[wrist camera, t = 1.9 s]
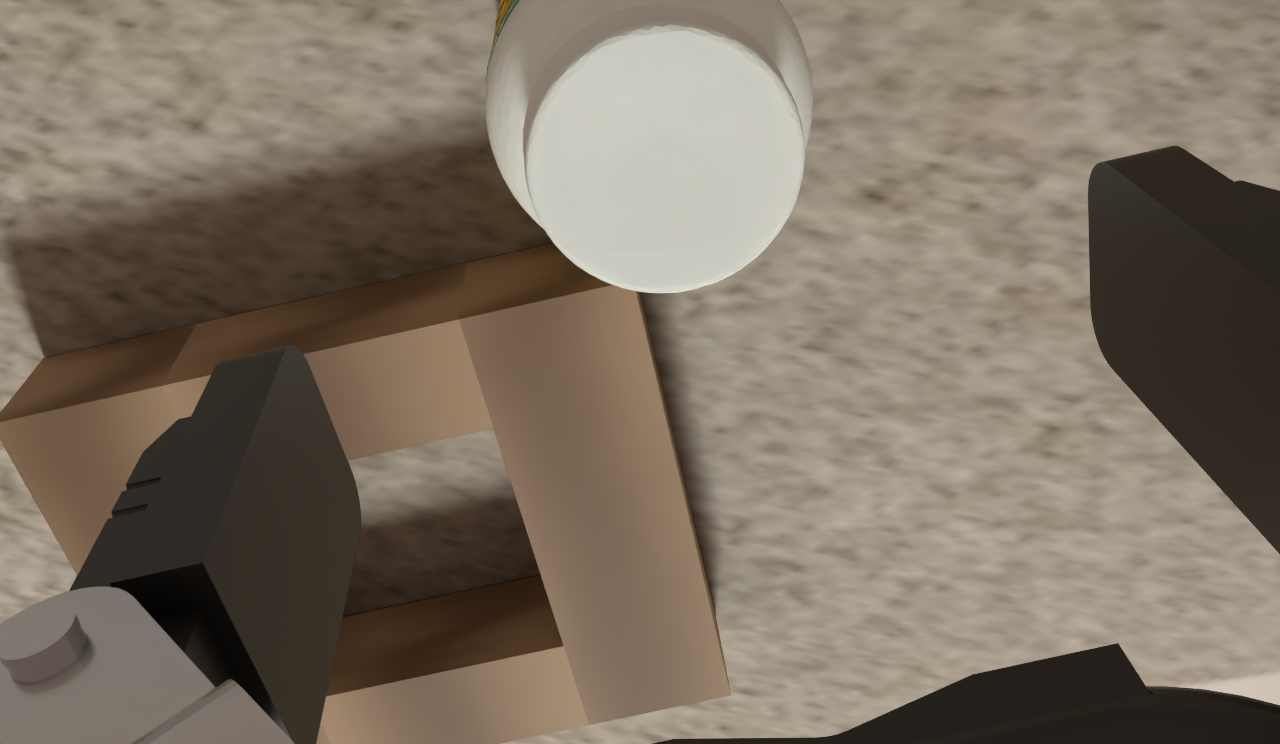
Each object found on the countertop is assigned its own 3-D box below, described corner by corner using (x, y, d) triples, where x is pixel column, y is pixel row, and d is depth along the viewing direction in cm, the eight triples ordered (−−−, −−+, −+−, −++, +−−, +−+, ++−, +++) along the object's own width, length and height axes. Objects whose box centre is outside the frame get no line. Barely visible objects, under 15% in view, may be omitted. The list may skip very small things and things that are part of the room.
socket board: (624, 227, 27) (633, 280, 25) (716, 618, 33) (730, 695, 30) (43, 357, 28) (-9, 424, 25) (234, 720, 33) (207, 804, 31)
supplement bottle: (716, 165, 27) (795, 366, 18) (480, 121, 26) (448, 310, 17) (779, -82, 24) (904, 18, 16) (520, -141, 23) (507, -68, 15)
